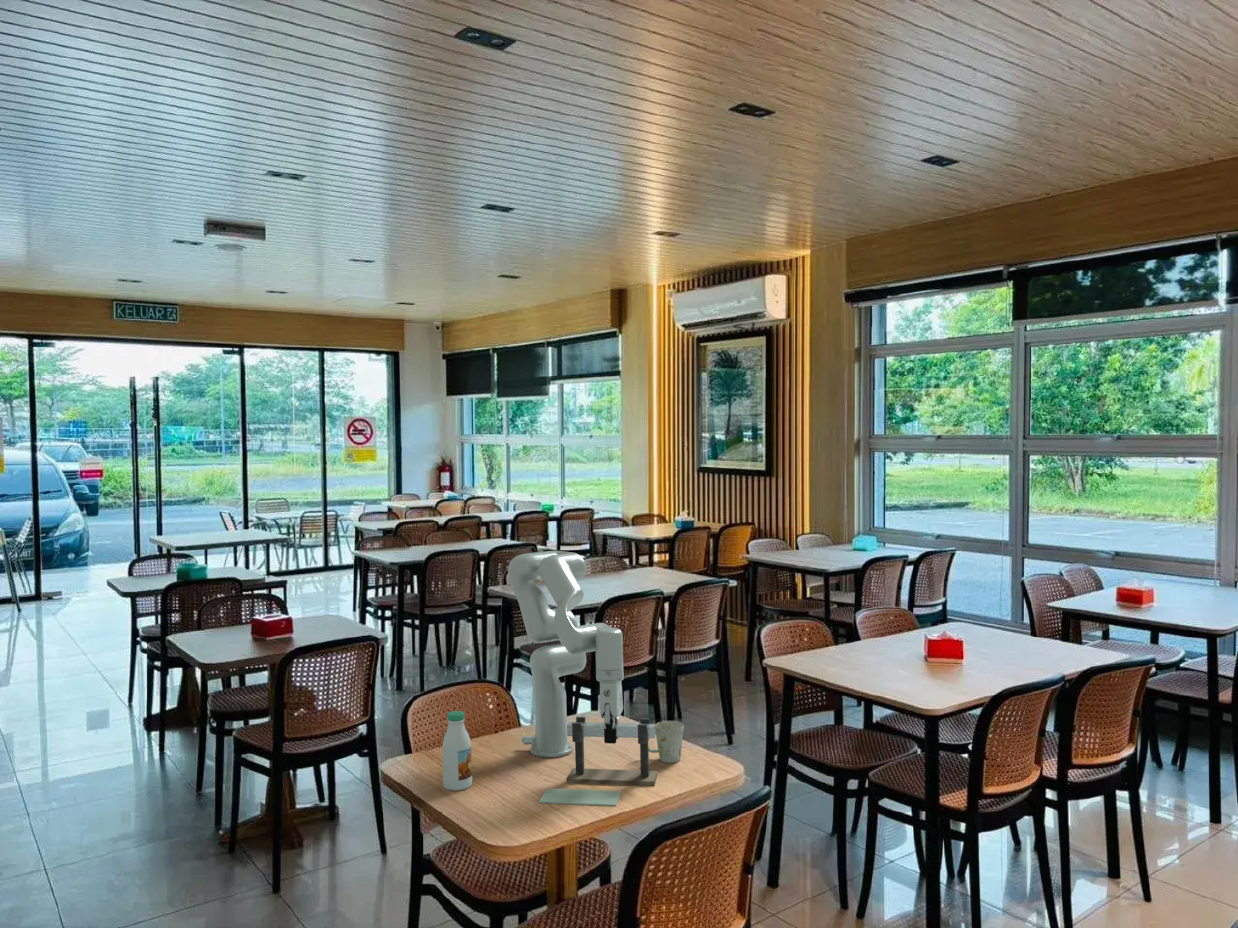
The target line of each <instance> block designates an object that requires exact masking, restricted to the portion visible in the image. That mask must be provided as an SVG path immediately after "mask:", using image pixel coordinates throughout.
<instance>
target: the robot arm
mask: <svg viewBox="0 0 1238 928" xmlns="http://www.w3.org/2000/svg"><path fill="white" fill-rule="evenodd" d="M586 574H587V564H586V562H585V560H584V558H583V557H582V556H581V555H580V554H578V553H576V552H569V551H562V550H549V551H547V550H546V551H538V552H527V553H522V554H519V555H516V556H514V557H513V558H511V560H510V562H509V565H508V568H507V578H508V582H509V585H510V587H511V589H512V592H513V594H514V595H515V597H516V599H517V602H518V605H519V608H520V612H521V616H522V621H523V624H524V627H525V631H526V635H527V636H528V637H527V638H528V639H529V640H530V641H531V642H532V643H534V644H541V643H543V644H544V643H549V642H554V641H559V642H560V643H556V644H550V645H543V646H542V647H541V646H540V647H539V648H536V649H535V650H534V651H532V653H531V655H530V658H529V665H530V666H529V667H530V671H531V674H532V675H531V676H532V682H533V693H534V694H533V696H534V697H533V699H534V730H535V735H534V734H533V735H532V736H529V735H522V737H521V743H523V745H525V746H527V745H531V747H530V753H531V754H532V756H535V757H540V758H548V759H549V758H559V757H564V756H566V755H567V756H568V755H569V754H571V753H573V749H574V748H573V745H572V744H571V743H570V742H568V736H567V725H568V721H567V719H568V718H567V717H568V715H567V692H566V689H565V688H566V687H565V686H564V684H562V682H561V681H560V679H559V678H560V677H563V676H568V675H573V674H577V673H580V672H582V671H583V670H584V669H585V668H586V665H587V654H588V653H591V652H592V653H593V652H595V679H596V681H597V682H599V708H600V709H599V710H600V711H599V712H600V717H601V719H603V723H604V737H603V738H604V744H614V745H615V744H616V743H617V740H618V739H619V737H616V728H615V723H619V722H618V721H619V718H620V717H621V714H622V713H623V710H624V701H623V699H624V698H623V685H622V681H623V680H624V679H625V678H624V672H625V671H624V639H623V638H624V637H623V631H622V630H621V628H617V627H611V626H609V625H608V624H606V623H604V622H596V623H589V624H583V625H578V622H577V619H576V616H575V615H574V613H573V612H572V610H573V609H575V608H576V607H577V606H578V605H579V604H580V603H581V602H582V600H583V598H584V594H585V593H584V590H583V589H582V587H581V585H580V584H579V582H578V581H581V580H582V579H584V577H585V576H586ZM540 580H542V581H543V583H544V585H545V586H546V588H547V590H548V591H549V594H550V596H551V597H552V599H553V601H554V602H555V604H556V608H553V609H552V608H551V607H550V606H549V603H548V599H547V596H546V594H545V592H544V591H543V590H542V589H541V588H540V587H539V586H538V585H537V584H536V583H534V581H540ZM586 653H587V654H586Z"/></svg>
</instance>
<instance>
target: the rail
mask: <svg viewBox="0 0 1238 928" xmlns="http://www.w3.org/2000/svg"><path fill="white" fill-rule="evenodd" d="M572 723H581V724H582V737H584V738H585V737H589V738H590V737H591V738H604V722H593V721H592V722H591V721H590V722H589V721H588V722H587V721H585V722H576V721H569V722H567V737H572ZM638 724H639V723H636V722H635V723H629V722H618V723H615V728H616V737H618V738H619V739H620V738H622V739H623V738H624V739H626V738H627V739H630V738H631V739H638ZM655 725H656V723H650V724H647V738H649V739H655V738H656V729H655Z"/></svg>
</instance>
